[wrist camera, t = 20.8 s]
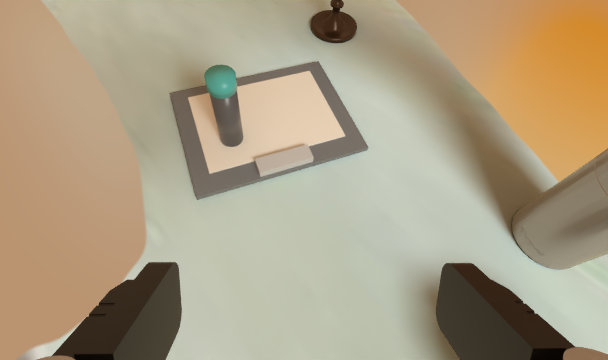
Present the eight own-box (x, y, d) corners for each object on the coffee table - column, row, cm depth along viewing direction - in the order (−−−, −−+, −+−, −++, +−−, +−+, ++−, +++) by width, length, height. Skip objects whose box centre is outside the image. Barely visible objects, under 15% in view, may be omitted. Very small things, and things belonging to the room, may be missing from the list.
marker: (240, 126, 51) (231, 62, 40) (246, 144, 49) (239, 82, 39) (217, 131, 50) (201, 67, 39) (222, 150, 48) (208, 89, 38)
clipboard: (318, 64, 60) (319, 55, 58) (367, 150, 51) (370, 142, 49) (171, 96, 54) (167, 87, 52) (197, 199, 45) (194, 192, 43)
